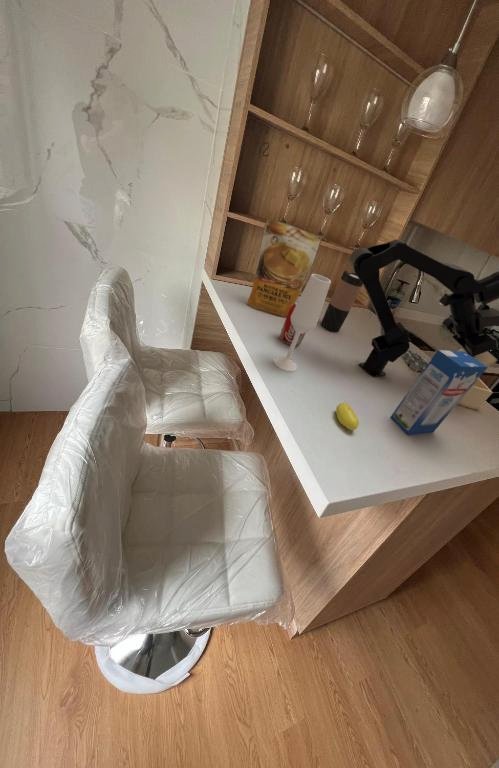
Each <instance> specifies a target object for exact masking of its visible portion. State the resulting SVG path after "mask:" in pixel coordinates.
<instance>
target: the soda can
mask: <svg viewBox="0 0 499 768" xmlns="http://www.w3.org/2000/svg"><path fill="white" fill-rule="evenodd" d="M298 301H299V300H297V301H295V304H293V305H292V306H291V307H290V310H289V312H288V315H287V317H285V320H284V322H283V325H282V328H281V331H280V335H279V338H280V339H281V341H282V342H283V343H285V344H286V345H289V346H291V344H292V341H293V339H294V336H295V334H296V331H295V330H294V328H293V326H292V323H291V315H292V313H293V311H294V309H295V307H296V305H297V303H298ZM305 335H306V333H302V334H300V336H299V339H298V341H297V343H296V346H298V345H300V344H301V343H302V342H303V340H304V337H305Z"/></svg>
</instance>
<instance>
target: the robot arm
mask: <svg viewBox="0 0 499 768" xmlns="http://www.w3.org/2000/svg"><path fill="white" fill-rule="evenodd" d="M399 260H400V261H401V262H403V263H405V264H407V265H409V266H411V267H413V268H415V269H416V270H418V271H421V272H423V273H425V274H427V275H428V276H430V277H432V278H433V279H434V280H436V281H437V282H438V283H439V284H440V285H442V286H443V287H444V288H445V289H447V290H449V291H450V292H451V293H447V292H446V293H444V294H443V296H442V297H441V298H440V299H439V300H438V301H439V303H440V304H442V306H444V307H448V306H449V309H450V310H449V311H450V315H449V317H447V318H444V320H443V322H442V327H443V329H444V330H445V331H446V332H449V331H451V330H452V332H453V333H454V335H452V338H453V340H455V342H456V343H457V344H458V345H459V347H460V348H463V349H464V350H465V352H466V353H467V354H469V355H470V356H472V357H474V356H476V355H479V354H482V353H484V352H487V351H488V352H490V351H492V350H496V349H497V348H498V347H499V343H498V340H497V339H496V338H495V337H494V336H492V334H489V333H483V331H485V330H486V328H487V327H499V310H498V309H496V308H493V307H490V305H489V304H490V303H492V302H495V301H497V300H499V271H496V272H494V273H492V274H490V275H488V276H486V277H483V278H481V279H479V280H478V279H475V275H474V274H473V273H472V272H470V271H469V270H467V269H465V268H463V267H461V266H459V265H455V264H453V263H448V262H442V261H440V260H439V261H438V259H435V258H433V257H432V256H430V255H427V254H425V253H423V252H422V251H420V250H418V249H416V248H414V247H413V246H410V245H409V244H407V243H406V242H404V241H403V240H401V239H398V238H397V239H393V240H390V241H388V242H384V243H380V244H379V243H378V244H376V245H372V246H369V247H367V248H366V247H358V248H356V249H355V250H353V251H352V252H351V254H350V256H349V258H348V263H349V266H350V268H351V269H352V270H353V273H356V275H357V276H358V278H359V279H360V281H361V282H362V283H363V285H362V286H363V287H364V289H365V292H366V294H367V296H368V299H369V301H370V303H371V306H372V308H373V311H374V313H375V315H376V318H377V321H378V323H379V326H380V335H378V336H376V337H374V338H372V339H371V343H370V344H371V346H372V350H371V351H370V353H369V354H368V356H367V358H366V360H365V362H360V363H358V366H359V367H360V368H362V370H364V371H365V372H367V373H368V374H369V375H370V376H371V377H374V378H376V377H382V376H386V375H387V373H386V372H385V371H384V369H385V368H386V367H387V365H388V363H389V362H390V363H395V361H396V360H398V359H399V358H400V357H401V356H403V355H404V354H405V353H406V352H407V351H408V349H409V350H410V347H411V345H410V343H412V340H411V339H410V337H409V333H408V330H407V329H406V328H405V326H404V325H403V324H402V322H401V321H398V322H396V320H395V318H394V315H393V312H392V309H391V307H390V305H389V302H388V299H387V297H386V294H385V292H384V289H383V287H382V285H381V280H380V278H381V277H380V276H381V275H380V273H381V272H380V269H383V268H385V267H387V266H389V265H391V264H392V263H393V262H395V261H399ZM476 303H477V304H479V305H478V306H476ZM450 327H451V328H450ZM485 327H486V328H485Z"/></svg>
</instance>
